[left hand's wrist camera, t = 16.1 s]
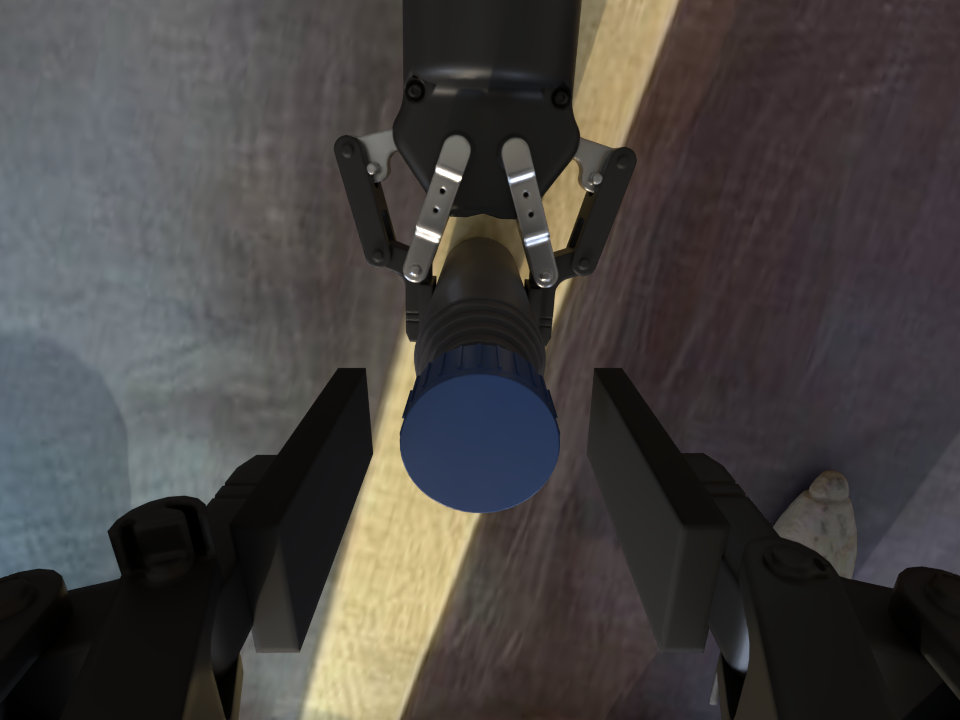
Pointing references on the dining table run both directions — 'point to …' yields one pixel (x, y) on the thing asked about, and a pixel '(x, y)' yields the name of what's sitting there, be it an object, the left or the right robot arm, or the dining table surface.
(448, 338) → the bottle
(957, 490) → the dining table surface
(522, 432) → the cap
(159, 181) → the dining table surface
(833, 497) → the decorative stone
